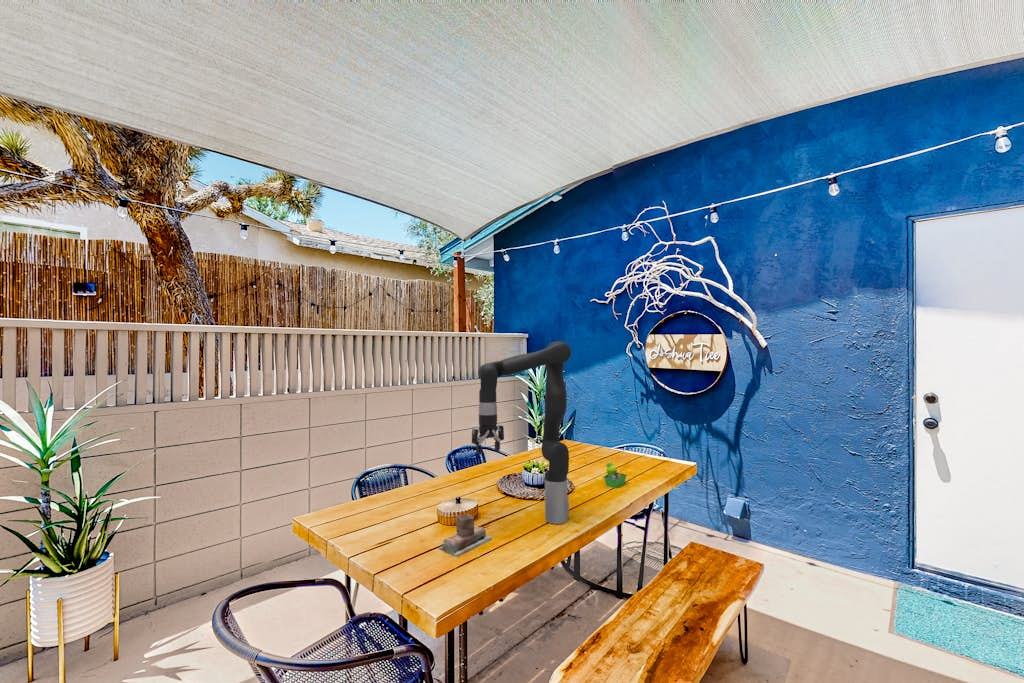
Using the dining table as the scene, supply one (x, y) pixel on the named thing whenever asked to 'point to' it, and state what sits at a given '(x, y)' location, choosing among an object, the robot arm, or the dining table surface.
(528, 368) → the robot arm
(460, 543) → the packaged product
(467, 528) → the walnut block
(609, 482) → the potted cactus
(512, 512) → the dining table surface
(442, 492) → the dining table surface
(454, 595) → the dining table surface
